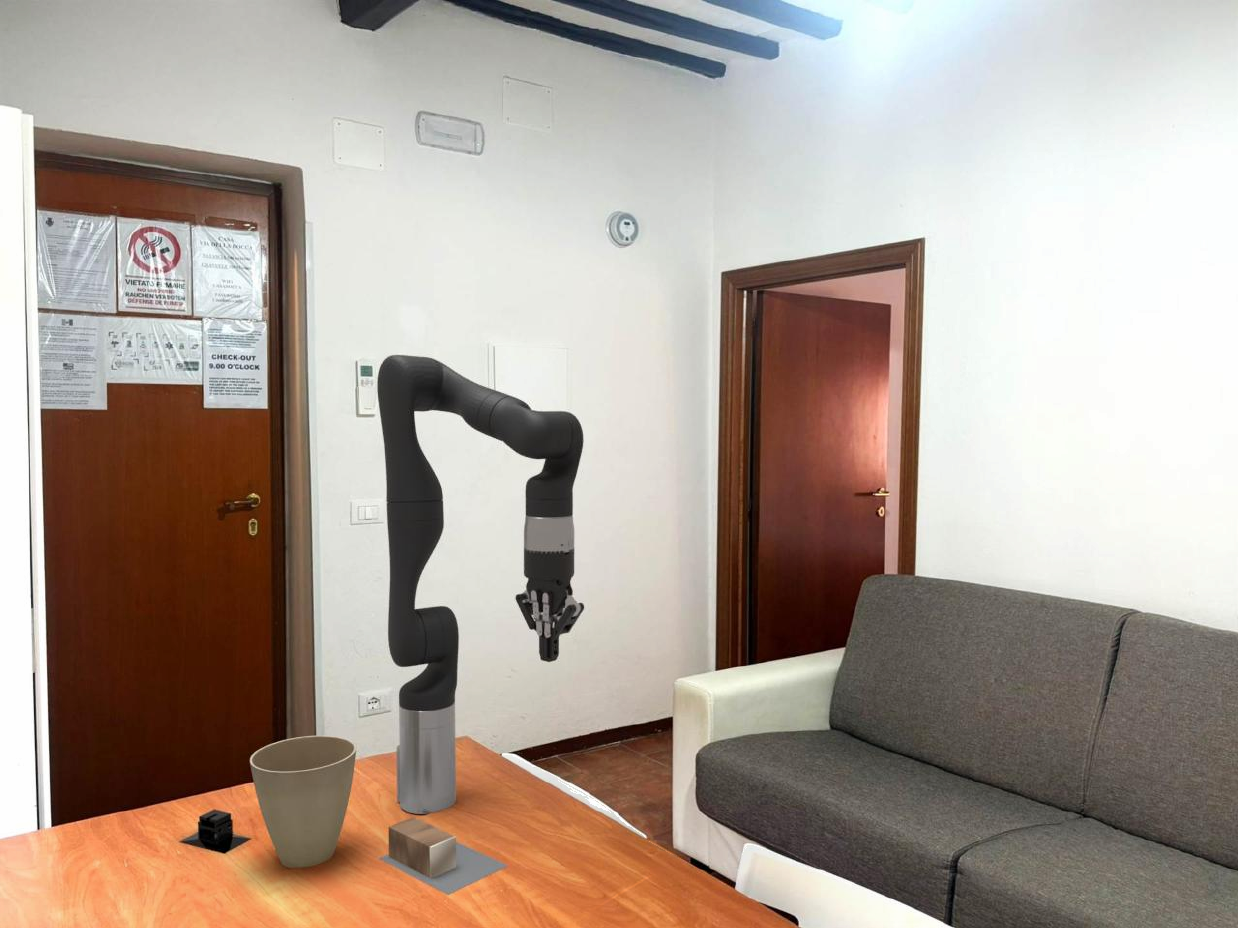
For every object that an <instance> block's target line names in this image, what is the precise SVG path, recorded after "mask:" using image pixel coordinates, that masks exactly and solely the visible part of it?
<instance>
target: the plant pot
mask: <svg viewBox="0 0 1238 928" xmlns="http://www.w3.org/2000/svg"><path fill="white" fill-rule="evenodd" d="M356 756H357V745H356V743H355V742H354V741H352V740H351V739H348V738H345V737H341V736H337V735H306V736H298V737H293V738H287V739H283V740H280V741H277V742H274V743H270V744H267V745H265V746H264V747H261V748H260V749H258V750H256V751H255V752H254V753H253V754H252V755H251V756H250V758H249V765H250V770H251V774H252V775H251V776H252V780H253V785H254V789H255V795H256V797H257V803H258V806H259V809H260V811H261V815H262V818H263V822H264V825H265V827H266V830H267V832H268V835H269V838H270V840H271V843H272V845H273V848H274V850H275V852H276V854H277V856H278V858H279V861H280V863H281V864H282V865H283V866H284V867H285V868H289V869H293V868H308V867H313V866H317V865H321V864H323V863H325V862H327V861H329V860H330V859H331V858H332V857H333V855H334V854H335V851H336V847H337V845H338V843H339V842H338V841H339V838H340V835H341V832H342V830H343V829H342V828H343V826H344V822H345V819H346V814H347V810H348V806H349V801H350V796H351V792H352V785H353V781H354V780H353V779H354V772H355V764H356Z"/></svg>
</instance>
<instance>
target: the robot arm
mask: <svg viewBox="0 0 1238 928" xmlns="http://www.w3.org/2000/svg"><path fill="white" fill-rule="evenodd" d="M376 387H377V400H378V408H379V415H380V417H379V418H380V423H381V429H382V431H381V432H382V437H383V438H382V440H383V446H384V447H383V448H384V458H385V460H384V461H385V478H386V479H385V481H386V520H387V523H386V525H387V538H388V553H389V554H388V555H389V589H388V591H389V593H388V594H389V595H388V612H387V613H388V616H387V619H388V620H387V639H388V640H387V641H388V648H389V649H388V650H389V653H390V656H391V659H392V661H393V663H394V664H395V665H396V666H397V667H400V668H407V667H408V668H409V667H415V666H421V665H427V666H426V667H425V669H423V671H421V673H419V674H418V675H417V676H416V677H414V678H413V679H411V680H409V681H407V682H405V683H404V684H403V685H402V686H400V689H399V692H398V693H399V694H398V711H399V712H398V724H399V731H398V733H399V745H397V746H396V801H397V802H398V803H399V806H400V808H401V810H403V811H405V812H407V813H410V814H417V815H429V814H431V813H438V812H441V811H444V810H447V809H449V808H451V807H452V806H454V805H455V804H456V802H457V799H456V797H457V789H456V787H457V786H456V784H457V783H456V782H457V781H456V780H457V779H456V777H457V775H456V773H457V771H456V768H457V766H456V765H457V763H456V691H457V685H458V667H459V666H458V665H459V663H458V662H459V650H460V649H459V647H460V646H459V645H460V642H459V641H460V638H459V637H460V632H459V625H458V620H457V617H456V615H455V613H454V611H453V610H452V608H450V607H448V606H444V605H442V606H441V605H439V606H438V605H437V606H430V607H429V606H428V607H421V608H416V596H417V590H418V585H419V581H420V578H421V575H422V574H423V571H424V569H425V568H426V566H427V564H428V562H429V560H430V558H431V557H432V555H433V553H434V551H435V549H436V547H437V546H438V543H439V542H440V540H441V537H442V534H443V531H444V528H445V526H444V525H445V522H444V521H445V520H444V519H445V518H444V517H445V516H444V515H445V514H444V495H443V489H442V485H441V483H440V480H439V477H438V476H437V474H436V472H435V470H434V469H433V467H432V465H431V463H430V462H429V460H428V459H427V457H426V456H425V454H424V451H423V450H422V447H421V444H420V442H419V439H418V436H417V428H416V420H415V419H416V418H415V416H416V415H415V412H423V413H424V412H430V411H436V412H438V411H439V412H445V413H451V414H454V415H457V416H459V417H461V418H462V419H463V421H464V422H465V423H466V424H467V425H468V426H469V427H471V428H472V429H473V430H475V431H477V432H479V433H480V434H483V435H485V436H488V437H491V438H492V439H496V440H498V441H501V442H503V443H504V444H505V446H507V447H509V448H510V449H511V450H513V452H515V454H519V456H522V457H525V458H528V459H532V460H544V462H543V467H542V469H541V472H539V473H538V474H535V475H533V476H531V477H530V478H528V479H527V481H526V484H525V519H524V526H523V576H524V577H525V578H526V579H527V581H526V584H525V588H526V589H525V590H524V591H523V592H522V593H518V594H516V595H515V602H516V603H517V606H518V607H519V610H520V612H521V614H522V616H523V618H524V620H525V622H526V625H527V627H528V629H529V630H534V631H535V632H536V635H538V654H539V657H540V661H543V662H545V663H546V662H547V663H552V662H554V661H557V659H558V657H559V654H560V648H559V647H560V636H562V635H563V634H568V633H570V631H571V630H572V629H573V626H575V624H576V622H577V621H578V619H579V618H580V616H581V614H582V613H583V611H584V610H585V605H584V603H582V602H577V600H576V599H575V598H574V596H573V595H574V594H573V593H574V591H573V588H572V584H571V581H572V578H573V577H574V575H575V525H574V516H573V514H574V512H573V509H574V501H573V500H574V499H573V498H574V493H573V490H574V489H573V488H574V485H575V482H576V478H577V474H578V470H579V466H580V462H581V457H582V453H583V449H584V432H583V428H582V425H581V423H580V421H579V419H578V417H576V415H575V414H573V413H571V412H569V411H563V410H562V411H561V410H551V411H550V410H548V411H547V410H546V411H543V410H540V411H539V410H533V409H532V408H531V406H530V405H529V404H528V403H527V402H525V401H524V400H522V399H519V398H518V397H515V396H512V395H509V394H507V393H505V392H501V391H498V390H496V389H493V388H490V387H487V386H484V385H482V384H479V383H476V382H474V381H472V380H471V379H469V378H467V377H465V376H463V375H461V373H458V372H457V371H455V370H454V369H452V368H451V367H449V366H448V365H446V364H444V363H443V362H441V361H440V360H437V359H435V358H432V357H428V356H420V355H419V356H418V355H417V356H416V355H408V354H406V355H405V354H392V355H388V356H387V357H386V358H384V359H383V361H382V362H381V363H380V366H379V370H378V374H377V383H376Z"/></svg>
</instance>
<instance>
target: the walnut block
mask: <svg viewBox="0 0 1238 928" xmlns="http://www.w3.org/2000/svg"><path fill="white" fill-rule="evenodd" d="M456 842H457V836H455V835H453V834H451V833H448V832H446V831H445V830H442V829H440V828H438V827H435V826H433V825H431V824H429V823H427V822H425V821H423V820H420V819H418V818H416V817H411V818H408V819H406V820H403V821H401V822H398V823H395V824H392V825H390V826H388V854H389V857H390V858H392V859H394V860H396V861H398V862H400V863H402V864H404V865H406V866H408V867H410V868H411V869H413V870H415V871H417V872H419V873H421V874H423V875H425V876H427V877H429V878H431V879H432V878H434V877H436V876H438V875H440V874H443V873H445V872H447V871H449V870H451V869H454V868H456Z"/></svg>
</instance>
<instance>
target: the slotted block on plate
mask: <svg viewBox="0 0 1238 928" xmlns="http://www.w3.org/2000/svg"><path fill="white" fill-rule="evenodd" d="M233 824H234V821H233V819H232V813H230V812H227V811H223V810H219V809H212V810H210V811H208V812H205V813H204V814H201V815H199V821H198V822H197V826H198V827H197V832H195V833H193V834H192V835H189V836H187V837H185V838H183V839H181V840H179V841H178V843H182V844H184V845H189V846H193V847H196V848H200V849H204V850H208V851H211V852H216V853H218V854H219V853H220V854H222V855H224V854H227V853H228V852H230V851H232V850H234V849H236V848H238V847H240V846H242V845H243V844H245V843H247V842H249V841H250V840H252V838H250V837H247V836H244V835H243V836H242V835H239V834H235V833H234V825H233Z"/></svg>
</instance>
